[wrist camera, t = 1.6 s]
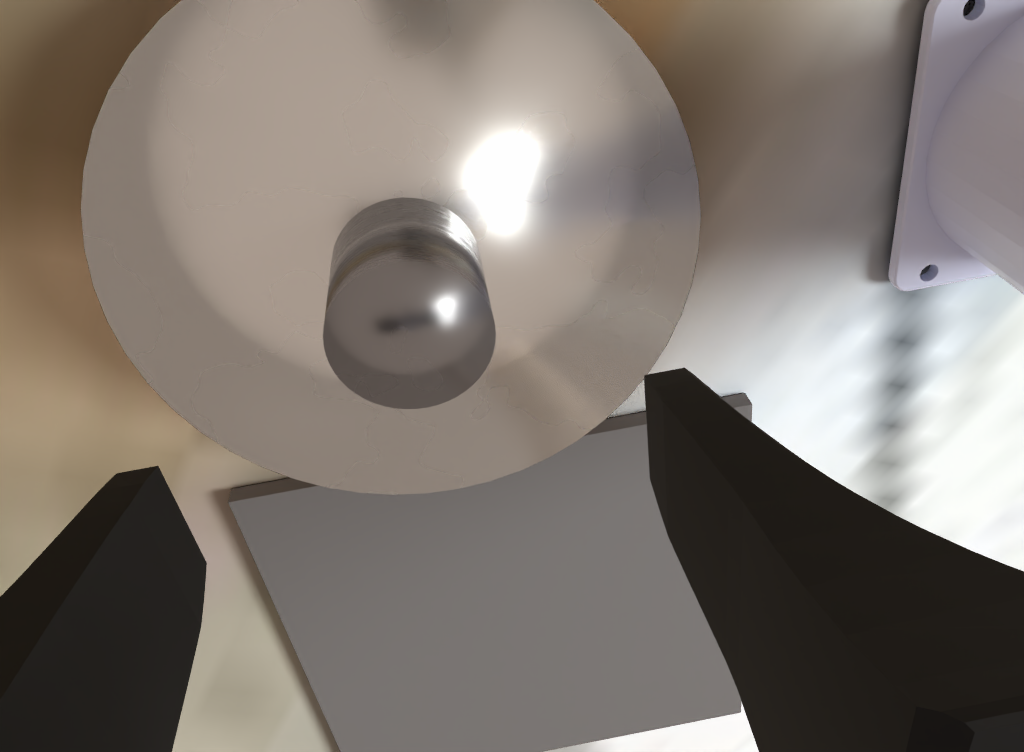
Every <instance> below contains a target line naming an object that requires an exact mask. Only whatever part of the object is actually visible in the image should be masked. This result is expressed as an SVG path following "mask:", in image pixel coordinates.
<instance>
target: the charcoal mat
mask: <svg viewBox="0 0 1024 752" xmlns="http://www.w3.org/2000/svg"><path fill="white" fill-rule="evenodd" d="M721 398H722V399H723V400H725V401H726V402H727V403H728V404H730V405H731V406H732V407H733V408H734V409H736V410H737V411H738V412H739V413H741V414H742V415H743V416H744V417H746V418H747V419H748V420H749V421H752V403H751V402H750V400H749V399H748V397H747V395H746V394H745V393H743V394H737V395H732V396H727V397H721ZM228 503H229V505H230V508H231V510H232V512H233V514H234V516H235V519H236V521H237V523H238V525H239V528H240V530H241V532H242V534H243V536H244V539H245V541H246V543H247V545H248V548H249V550H250V552H251V554H252V556H253V559H254V561H255V563H256V565H257V568H258V570H259V572H260V574H261V576H262V579H263V581H264V583H265V585H266V588H267V590H268V592H269V594H270V596H271V599H272V601H273V603H274V605H275V607H276V610H277V612H278V614H279V616H280V619H281V621H282V623H283V625H284V627H285V630H286V632H287V634H288V636H289V639H290V641H291V643H292V645H293V647H294V650H295V652H296V654H297V656H298V659H299V661H300V663H301V665H302V667H303V670H304V672H305V674H306V676H307V679H308V681H309V683H310V685H311V687H312V690H313V692H314V694H315V696H316V698H317V701H318V703H319V705H320V707H321V710H322V712H323V714H324V716H325V718H326V721H327V723H328V725H329V727H330V730H331V732H332V734H333V736H334V738H335V741H336V743H337V745H338V747H339V750H340V752H543V751H548V750H553V749H558V748H563V747H568V746H573V745H579V744H584V743H589V742H594V741H599V740H604V739H609V738H614V737H619V736H624V735H629V734H634V733H639V732H644V731H649V730H654V729H659V728H665V727H670V726H675V725H680V724H685V723H690V722H695V721H700V720H705V719H710V718H715V717H720V716H725V715H730V714H735V713H740V712H741V698H740V695H739V692H738V690H737V687H736V685H735V682H734V680H733V678H732V675H731V673H730V670H729V668H728V665H727V663H726V661H725V659H724V656H723V654H722V652H721V650H720V648H719V646H718V643H717V641H716V639H715V637H714V635H713V633H712V631H711V628H710V626H709V624H708V622H707V620H706V618H705V616H704V613H703V611H702V609H701V607H700V605H699V603H698V601H697V598H696V596H695V594H694V592H693V590H692V588H691V586H690V583H689V581H688V579H687V577H686V575H685V573H684V570H683V568H682V566H681V564H680V562H679V559H678V557H677V555H676V553H675V551H674V549H673V546H672V544H671V542H670V540H669V537H668V535H667V532H666V529H665V525H664V522H663V519H662V516H661V513H660V510H659V507H658V504H657V501H656V497H655V494H654V491H653V488H652V485H651V481H650V474H649V456H648V438H647V419H646V412H641V413H636V414H630V415H625V416H620V417H614V418H609V419H605V420H604V421H603V422H601V423H600V424H599V425H597V426H596V427H595V428H593V429H592V430H591V431H589V432H588V433H587V434H585V435H584V436H583V437H582V438H580V439H579V440H577V441H576V442H574V443H573V444H571V445H569V446H568V447H566V448H564V449H563V450H561V451H559V452H558V453H556V454H554V455H553V456H551V457H549V458H547V459H545V460H543V461H540V462H538V463H536V464H534V465H532V466H530V467H528V468H525V469H523V470H521V471H518V472H515V473H513V474H510V475H507V476H504V477H501V478H498V479H495V480H493V481H489V482H485V483H481V484H477V485H473V486H469V487H464V488H460V489H454V490H447V491H440V492H433V493H424V494H398V495H389V494H372V493H358V492H352V491H345V490H339V489H333V488H327V487H323V486H319V485H315V484H311V483H307V482H304V481H300V480H296V479H293V478H288V479H283V480H277V481H272V482H267V483H261V484H256V485H250V486H245V487H240V488H234V489H231V492H230V497H229V501H228Z"/></svg>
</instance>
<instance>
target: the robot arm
mask: <svg viewBox="0 0 1024 752" xmlns="http://www.w3.org/2000/svg"><path fill="white" fill-rule="evenodd" d="M968 1H969V0H930V1H929V2H928V4H927V7H926V10H925V13H924V20H923V28H922V35H921V42H920V49H919V57H918V64H917V71H916V78H915V86H914V93H913V100H912V107H911V115H910V122H909V129H908V136H907V144H906V151H905V158H904V165H903V173H902V180H901V187H900V194H899V202H898V209H897V216H896V223H895V230H894V238H893V245H892V252H891V259H890V267H889V280H890V282H891V283H892V284H893V285H894V286H895V287H896V288H897V289H899V290H901V291H911V290H916V289H922V288H927V287H933V286H938V285H943V284H949V283H954V282H960V281H965V280H971V279H976V278H981V277H987V276H992V275H999V276H1000V277H1001V278H1003V279H1004V280H1005V281H1007V282H1008V283H1009V284H1011V285H1012V286H1013V287H1014V288H1016V289H1017V290H1018V291H1020V292H1021V293H1022V294H1024V0H975V5H974V8H973V10H972V11H971V12H970V13H969V14H968V15H966V16H963V9H964V6H965V4H966V3H967V2H968ZM928 265H931V266H930V268H929V270H928V271H927V272H926V273H924V274H922V275H920V274H921V271H922V270H923V269H924V268H925V267H926V266H928ZM644 383H645V401H646V419H647V438H648V456H649V474H650V481H651V485H652V488H653V491H654V494H655V497H656V501H657V504H658V507H659V510H660V513H661V516H662V519H663V522H664V525H665V529H666V532H667V535H668V537H669V540H670V542H671V544H672V546H673V549H674V551H675V553H676V555H677V557H678V559H679V562H680V564H681V566H682V568H683V570H684V573H685V575H686V577H687V579H688V581H689V583H690V586H691V588H692V590H693V592H694V594H695V596H696V598H697V601H698V603H699V605H700V607H701V609H702V611H703V613H704V616H705V618H706V620H707V622H708V624H709V626H710V628H711V631H712V633H713V635H714V637H715V639H716V641H717V643H718V646H719V648H720V650H721V652H722V654H723V656H724V659H725V661H726V663H727V665H728V668H729V670H730V673H731V675H732V678H733V680H734V682H735V685H736V687H737V690H738V692H739V695H740V698H741V701H742V704H743V707H744V710H745V713H746V715H747V718H748V721H749V724H750V727H751V730H752V733H753V735H754V738H755V741H756V744H757V747H758V750H759V752H1024V571H1021V570H1018V569H1016V568H1013V567H1010V566H1007V565H1005V564H1002V563H1000V562H998V561H995V560H993V559H990V558H988V557H985V556H983V555H980V554H978V553H975V552H973V551H971V550H968V549H966V548H964V547H962V546H960V545H957V544H955V543H953V542H951V541H949V540H946V539H944V538H942V537H940V536H938V535H935V534H933V533H931V532H929V531H927V530H924V529H922V528H920V527H918V526H916V525H914V524H912V523H910V522H908V521H906V520H904V519H902V518H900V517H898V516H896V515H894V514H893V513H891V512H889V511H887V510H885V509H883V508H882V507H880V506H878V505H876V504H874V503H872V502H871V501H869V500H867V499H865V498H863V497H862V496H860V495H858V494H856V493H854V492H853V491H851V490H849V489H848V488H846V487H844V486H843V485H841V484H839V483H838V482H836V481H834V480H833V479H831V478H830V477H828V476H826V475H825V474H823V473H822V472H820V471H819V470H817V469H816V468H814V467H813V466H811V465H810V464H808V463H807V462H805V461H804V460H802V459H801V458H799V457H798V456H797V455H795V454H794V453H792V452H791V451H789V450H788V449H787V448H785V447H784V446H783V445H781V444H780V443H779V442H777V441H776V440H775V439H773V438H772V437H771V436H769V435H768V434H767V433H765V432H764V431H763V430H761V429H760V428H758V427H757V426H756V425H755V424H753V423H752V422H751V421H749V420H748V419H747V418H746V417H744V416H743V415H742V414H741V413H739V412H738V411H737V410H736V409H734V408H733V407H732V406H731V405H730V404H728V403H727V402H726V401H725V400H723V399H722V398H721V397H720V396H719V395H717V394H716V393H715V392H714V391H713V390H711V389H710V388H709V387H708V386H707V385H705V384H704V383H703V382H702V381H701V380H700V379H698V378H697V377H696V376H695V375H693V374H692V373H691V372H690V371H688V370H687V369H686V368H681V369H675V370H670V371H665V372H659V373H654V374H649V375H644ZM206 565H207V563H206V561H205V559H204V557H203V555H202V553H201V551H200V549H199V547H198V545H197V543H196V541H195V539H194V537H193V535H192V533H191V531H190V529H189V527H188V525H187V523H186V521H185V519H184V517H183V515H182V513H181V511H180V509H179V507H178V505H177V503H176V501H175V499H174V497H173V495H172V493H171V491H170V489H169V487H168V485H167V483H166V481H165V479H164V477H163V475H162V473H161V471H160V469H159V467H158V466H155V467H149V468H144V469H139V470H133V471H128V472H122V473H117V474H116V475H115V476H114V477H112V478H111V479H110V480H109V481H108V482H107V483H106V484H105V485H104V486H103V487H102V488H101V489H100V490H99V492H98V493H97V494H96V495H95V496H94V497H93V498H92V499H91V500H90V501H89V502H88V503H87V504H86V505H85V507H84V508H83V509H82V510H81V511H80V512H79V513H78V514H77V515H76V516H75V517H74V519H73V520H72V521H71V522H70V523H69V524H68V525H67V526H66V527H65V528H64V530H63V531H62V532H61V533H60V534H59V535H58V536H57V537H56V538H55V539H54V541H53V542H52V543H51V544H50V545H49V546H48V547H47V548H46V549H45V550H44V551H43V552H42V553H41V555H40V556H39V557H38V558H37V559H36V560H35V561H34V562H33V563H32V564H31V565H30V566H29V568H28V569H27V570H26V571H25V572H24V573H23V574H22V575H21V576H20V577H19V578H18V579H17V580H16V581H15V582H14V584H13V585H12V586H11V587H10V588H9V589H8V590H7V591H6V592H5V593H4V594H3V595H2V596H1V597H0V752H172V748H173V744H174V740H175V736H176V732H177V727H178V723H179V719H180V715H181V711H182V707H183V702H184V698H185V694H186V690H187V686H188V682H189V677H190V673H191V669H192V664H193V660H194V656H195V651H196V647H197V643H198V638H199V633H200V629H201V622H202V613H203V603H204V592H205V579H206Z"/></svg>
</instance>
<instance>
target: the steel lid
mask: <svg viewBox="0 0 1024 752" xmlns="http://www.w3.org/2000/svg"><path fill="white" fill-rule="evenodd" d="M81 218H82V229H83V240H84V250H85V254H86V258H87V262H88V266H89V271H90V275H91V279H92V283H93V287H94V289H95V292H96V294H97V297H98V299H99V302H100V304H101V307H102V309H103V312H104V314H105V317H106V319H107V322H108V324H109V325H110V327H111V329H112V331H113V333H114V334H115V336H116V338H117V340H118V341H119V343H120V345H121V347H122V348H123V350H124V352H125V354H126V355H127V356H128V358H129V359H130V360H131V362H132V363H133V364H134V366H135V367H136V368H137V370H138V371H139V372H140V374H141V375H142V376H143V378H144V379H145V380H146V382H147V383H148V384H149V385H150V386H151V387H152V388H153V389H154V390H155V391H156V392H157V394H158V395H159V396H160V397H161V398H162V399H163V400H164V401H165V402H166V403H167V404H168V405H169V406H170V407H171V408H172V409H173V410H174V411H175V412H177V413H178V414H179V415H180V416H182V417H183V418H184V419H185V420H186V421H188V422H189V423H190V424H191V425H193V426H194V427H195V428H196V429H197V430H199V431H200V432H201V433H203V434H204V435H206V436H207V437H209V438H211V439H212V440H214V441H215V442H217V443H218V444H220V445H221V446H223V447H224V448H226V449H228V450H229V451H231V452H233V453H235V454H237V455H239V456H241V457H243V458H245V459H247V460H249V461H251V462H253V463H255V464H257V465H259V466H261V467H263V468H266V469H269V470H271V471H274V472H277V473H279V474H282V475H285V476H287V477H290V478H293V479H296V480H300V481H304V482H307V483H311V484H315V485H319V486H323V487H327V488H333V489H339V490H345V491H352V492H358V493H372V494H389V495H398V494H424V493H433V492H440V491H447V490H454V489H460V488H464V487H469V486H473V485H477V484H481V483H485V482H489V481H493V480H495V479H498V478H501V477H504V476H507V475H510V474H513V473H515V472H518V471H521V470H523V469H525V468H528V467H530V466H532V465H534V464H536V463H538V462H540V461H543V460H545V459H547V458H549V457H551V456H553V455H554V454H556V453H558V452H559V451H561V450H563V449H564V448H566V447H568V446H569V445H571V444H573V443H574V442H576V441H577V440H579V439H580V438H582V437H583V436H584V435H585V434H587V433H588V432H589V431H591V430H592V429H593V428H595V427H596V426H597V425H599V424H600V423H601V422H603V421H604V420H605V419H606V418H607V417H608V416H609V415H610V414H611V413H612V412H613V411H614V410H616V409H617V408H618V407H619V406H620V405H621V404H622V403H623V402H624V401H625V400H626V399H627V398H628V397H629V396H630V394H631V393H632V392H633V391H634V390H635V389H636V387H637V386H638V385H639V384H640V383H641V381H642V380H643V379H644V375H647V374H648V373H649V371H650V370H651V368H652V367H653V365H654V364H655V362H656V361H657V359H658V358H659V356H660V355H661V353H662V352H663V350H664V348H665V347H666V345H667V343H668V341H669V339H670V337H671V335H672V333H673V331H674V329H675V327H676V325H677V323H678V321H679V319H680V317H681V314H682V311H683V308H684V305H685V302H686V300H687V297H688V294H689V291H690V288H691V285H692V281H693V276H694V271H695V266H696V261H697V256H698V251H699V236H700V220H701V211H700V198H699V185H698V176H697V172H696V167H695V163H694V158H693V154H692V149H691V145H690V141H689V138H688V135H687V133H686V130H685V127H684V125H683V122H682V120H681V117H680V114H679V112H678V109H677V106H676V104H675V102H674V101H673V99H672V97H671V95H670V93H669V91H668V90H667V88H666V86H665V84H664V82H663V81H662V79H661V77H660V75H659V73H658V72H657V70H656V68H655V67H654V66H653V65H652V63H651V62H650V61H649V59H648V58H647V57H646V55H645V54H644V53H643V51H642V50H641V49H640V47H639V46H638V45H637V44H636V42H635V41H634V40H633V38H632V37H631V36H630V35H629V34H628V33H627V32H626V31H625V30H624V29H623V28H622V27H621V26H620V25H619V24H618V23H617V22H616V21H615V20H614V19H613V18H612V17H611V16H610V15H609V14H608V13H607V12H606V11H605V10H604V9H603V8H602V7H601V6H600V5H599V4H597V3H596V2H595V1H594V0H181V1H180V2H179V3H177V4H176V5H175V6H174V7H173V8H172V9H170V10H169V11H168V12H167V13H166V14H165V15H164V16H162V17H161V18H160V19H159V21H158V22H157V23H156V24H155V25H154V26H153V28H152V29H151V30H150V31H149V32H148V34H147V35H146V36H145V37H144V38H143V39H142V41H141V42H140V43H139V44H138V45H137V46H136V48H135V49H134V50H133V51H132V52H131V54H130V55H129V57H128V59H127V60H126V62H125V64H124V65H123V67H122V69H121V70H120V72H119V74H118V75H117V77H116V79H115V80H114V82H113V84H112V85H111V87H110V88H109V90H108V92H107V95H106V97H105V100H104V102H103V105H102V107H101V110H100V112H99V115H98V117H97V120H96V122H95V125H94V127H93V130H92V134H91V139H90V143H89V148H88V152H87V156H86V161H85V165H84V170H83V184H82V200H81Z"/></svg>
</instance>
